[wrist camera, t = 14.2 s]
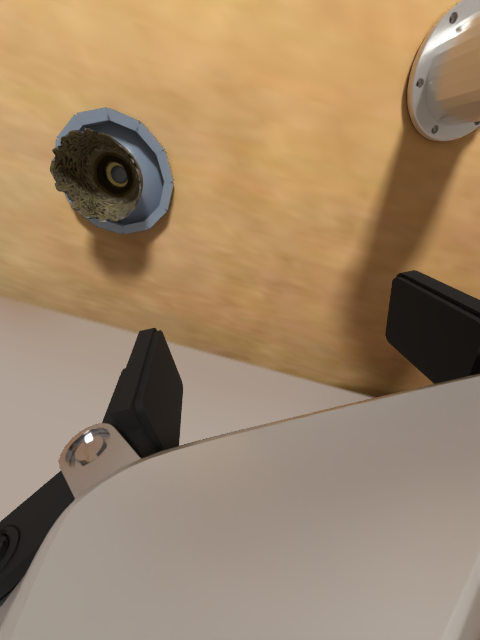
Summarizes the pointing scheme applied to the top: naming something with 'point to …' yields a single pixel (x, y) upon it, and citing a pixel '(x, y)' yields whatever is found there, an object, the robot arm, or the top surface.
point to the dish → (148, 158)
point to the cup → (96, 175)
